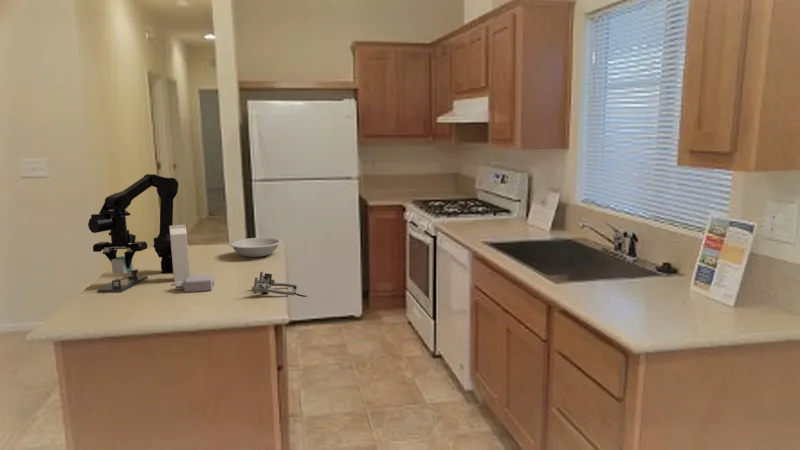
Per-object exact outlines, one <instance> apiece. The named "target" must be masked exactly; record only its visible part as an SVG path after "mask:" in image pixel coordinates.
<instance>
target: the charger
mask: <svg viewBox="0 0 800 450" xmlns="http://www.w3.org/2000/svg"><path fill="white" fill-rule="evenodd" d="M169 285H170V287H171V286H172V287H174V288H175V289H183V291H184V292H185V293H197V292H211V291H213V288H214V287H215V274H214V273H211V274H210V273H209V274H194V275H193V274H192V275H191V274H190V276H188V277H186V279H185V280H184V281H177V282H174V283H171V284H169Z"/></svg>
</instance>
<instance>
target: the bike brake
mask: <svg viewBox="0 0 800 450" xmlns="http://www.w3.org/2000/svg"><path fill="white" fill-rule="evenodd" d="M263 273H264V271H260V272H259V276H258V277H259V278H258V277H257V276H256V277H254V283H253V285H254V286H252V287H251V291H252V294H254V295H256V294H257V293H258V292H260V293H261V295H269V294H270V293H272V294H277V295H278V294H279V295H286V296H298V297H303V298H304V297H305V298H307V297H308V295H304V294H299V293H297V292H296V291H297V288H298V284H296V283H287V282H277V281H276V282H275V280H276V279H274V278H272V277H273V274H272V273H264V274H263ZM271 287H288V288H291V289H292V290H291V291H290V290H289V291H287V290H279V289H275V288H271Z"/></svg>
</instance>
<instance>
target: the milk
mask: <svg viewBox="0 0 800 450" xmlns="http://www.w3.org/2000/svg"><path fill="white" fill-rule="evenodd" d="M169 227H170V241H171V252H172V264H173V273H172V274H173V282H174V283H176V282H177V281H184V280H185V279H186V277H188V276H191V270H190V259H189V247H188V235H187V228H186V227H187V226H186V224H174V225H171V226H169Z"/></svg>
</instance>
